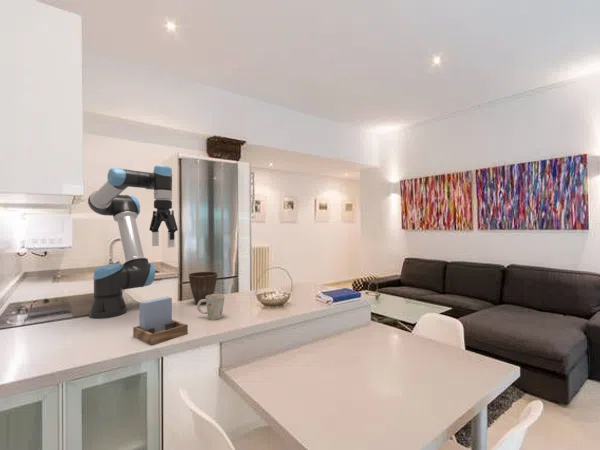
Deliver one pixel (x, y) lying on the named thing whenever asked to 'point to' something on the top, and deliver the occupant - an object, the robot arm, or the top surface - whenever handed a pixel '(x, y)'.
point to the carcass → (161, 333)
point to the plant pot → (202, 285)
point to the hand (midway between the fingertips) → (163, 246)
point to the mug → (213, 306)
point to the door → (156, 313)
